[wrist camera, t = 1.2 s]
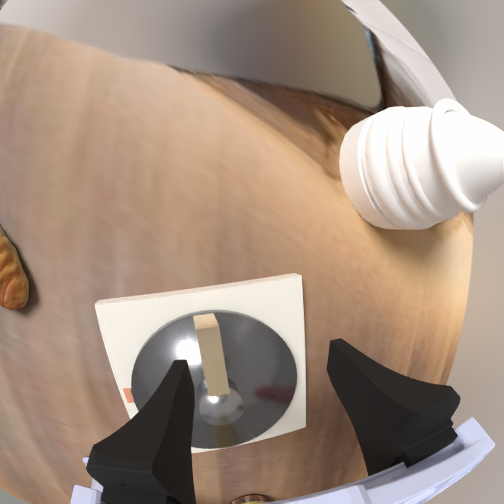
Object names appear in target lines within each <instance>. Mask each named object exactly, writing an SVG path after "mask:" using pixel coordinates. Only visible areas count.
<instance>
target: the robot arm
mask: <svg viewBox="0 0 504 504" xmlns="http://www.w3.org/2000/svg"><path fill="white" fill-rule="evenodd" d="M327 372H328V375H329V377H330V380H331V383H332V385H333V387H334V389H335V391H336V393H337V395H338V397H339V399H340V400H341V402H342V404H343V406H344V408H345V410H346V412H347V413H348V415H349V417H350V420H351V422H352V424H353V427H354V430H355V432H356V435H357V438H358V441H359V444H360V447H361V450H362V453H363V456H364V460H365V463H366V467H367V471H368V477H366V478H363V479H360V480H357V481H354V482H352V483H348V484H345V485H342V486H339V487H336V488H332V489H329V490H325V491H321V492H317V493H313V494H309V495H305V496H300V497H295V498H290V499H285V500H279V501H273V502H266V503H258V504H423V503H424V502H426V501H428V500H429V499H431V498H432V497H434V496H436V495H437V494H439V493H440V492H442V491H443V490H445V489H446V488H448V487H449V486H451V485H452V484H454V483H455V482H456V481H458V480H459V479H461V478H462V477H463V476H465V475H466V474H467V473H469V472H470V471H471V470H473V469H474V468H475V467H476V466H477V465H478V463H480V462H481V460H482V459H484V457H485V456H486V455H487V454H488V453H489V452H490V451H491V450H492V449H493V448H494V447H495V444H494V442H493V441H492V440H491V439H490V437H489V436H488V435H487V433H486V432H485V431H484V430H483V429H482V427H481V426H480V425H479V424H478V422H477V421H476V420H475V419H474V417H471V418H469V419H468V420H466V421H465V422H464V423H462V424H460V425H459V426H458V427H457V428H455V430H454V429H453V428H452V427H451V426H452V425H453V422H452V421H451V417H452V415H453V414H454V412H455V411H456V409H457V407H458V405H459V403H460V396H459V395H458V394H457V393H456V392H455V390H454V389H453V388H452V387H451V386H445V385H438V384H432V383H427V382H423V381H419V380H416V379H413V378H410V377H407V376H404V375H401V374H399V373H397V372H394V371H392V370H390V369H388V368H386V367H384V366H382V365H381V364H379V363H377V362H375V361H374V360H372V359H371V358H369V357H367V356H366V355H364V354H363V353H361V352H360V351H359V350H357V349H356V348H354V347H353V346H351V345H350V344H349V343H347V342H346V341H344V340H343V339H341V338H340V339H336V340H331V341H330V347H329V355H328V363H327ZM194 409H195V389H194V384H193V381H192V377H191V373H190V370H189V366H188V362H187V359H182V360H174V361H173V363H172V365H171V366H170V368H169V370H168V372H167V373H166V375H165V377H164V378H163V380H162V382H161V383H160V385H159V386H158V388H157V389H156V391H155V392H154V393H153V395H152V396H151V397H150V399H149V400H148V401H147V403H146V404H145V405H144V406H143V407H142V408H141V409H140V411H139V412H138V413H137V414H136V415H135V416H134V417H133V418H132V419H131V420H130V421H128V422H127V423H126V424H125V425H124V426H123V427H121V428H120V429H119V430H117V431H116V432H115V433H113V434H112V435H110V436H109V437H107V438H105V439H104V440H102V441H100V442H98V443H97V444H95V445H93V447H92V450H91V452H90V456H89V457H84V458H83V461H84V463H85V464H86V466H87V467H86V469H87V472H88V473H89V474H90V475H91V477H93V481H92V486H91V488H88V487H84V486H80V485H75V486H74V490H73V494H72V498H71V502H70V504H196V500H195V492H194V483H193V471H192V453H191V441H192V429H193V419H194Z"/></svg>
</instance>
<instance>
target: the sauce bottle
mask: <svg viewBox="0 0 504 504" xmlns="http://www.w3.org/2000/svg"><path fill="white" fill-rule="evenodd" d="M266 502H268V500H267V498H266V497H264V496H261V495H248V496H244V497H239V498H237V499H235V500H234V501H233V502H232V503H230V504H258V503H266Z"/></svg>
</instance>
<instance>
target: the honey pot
mask: <svg viewBox="0 0 504 504" xmlns="http://www.w3.org/2000/svg"><path fill="white" fill-rule="evenodd" d="M447 110H452V111H447ZM453 111H454V112H453ZM339 164H340V172H341V179H342V182H343V185H344V188H345V192H346V194H347V196H348V198H349V200H350V202H351V203H352V205H353V207H354V209H355V210H356V211H357V212H358V213H359V214H360V215H361V216H362V218H363V219H365V220H366V221H368V222H369V223H370V224H372V225H373V226H376V227H380V228H383V229H401V230H406V229H408V230H411V229H414V230H420V229H427V228H430V227H432V226H433V225H435V224H437V223H440V222H442V221H444V220H446V219H452V218H453V217H455V216H456V215H458V214H459V213H460V212H462V211H466V212H468V213H469V212H477V211H478V210H479V209H481V208H482V206H483V205H484V203H485V202H486V200H487V196H488V195H490V194H491V193H492V192H494V191H495V190H496V189H497V188H498V187H500V186H501V185H502V184H503V183H504V132H503V131H501V130H500V129H499V128H497V127H496V126H494V125H492V124H491V123H489V122H487V121H484V120H482V119H480V118H477V117H474V116H471V115H470V114H469V113H468V111H467V110H466V109H465V108H464V107H462V105H460V104H459V103H458V102H456V101H454V100H452V99H442V100H440V101H439V102H437V103H436V104H435V106H434V108H433V109H431V108H429V107H410V108H406V107H403V106H402V107H391V108H387V109H386V110H384V111H381V112H379V113H377V114H375V115H373V116H371V117H368V118H366V119H364V120H362V121H361V122H359V123H357V124H355V125H354V126H352V127H351V129H350V130H349V131H348V132H347V134H346V135H345V137H344V140H343V143H342V146H341V150H340V161H339Z"/></svg>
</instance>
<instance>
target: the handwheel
mask: <svg viewBox="0 0 504 504" xmlns="http://www.w3.org/2000/svg"><path fill="white" fill-rule="evenodd" d="M182 359H187V362H188V366H189V370H190V373H191V377H192V381H193V384H194V389H195V409H194V419H193V429H192V441H191V447H194V448H201V449H220V448H227V447H232V446H236V445H240V444H242V443H245V442H248V441H250V440H252V439H254V438H256V437H258V436H260V435H261V434H263V433H265V432H266V431H267V430H269V429H270V428H271V427H272V426H273V425H274V424H276V423H277V422H278V421H279V419H280V418H281V417H282V416H283V415H284V413H285V412H286V410H287V409H288V407H289V405H290V403H291V401H292V399H293V396H294V393H295V390H296V385H297V368H296V363H295V360H294V357H293V355H292V352H291V350H290V348H289V347H288V345H287V344H286V342H285V341H284V340H283V339H282V338H281V337H280V336H279V335H278V334H277V333H276V332H275V331H274V330H273V329H272V328H271V327H269V326H268V325H267V324H265V323H264V322H262V321H260V320H259V319H256V318H254V317H252V316H249V315H247V314H243V313H240V312H235V311H228V310H205V311H198V312H194V313H189V314H186V315H183V316H180V317H178V318H176V319H174V320H172V321H170V322H168V323H166V324H165V325H163V326H162V327H160V328H159V329H158V330H157V331H155V332H154V333H153V334H152V335H151V336H150V337H149V338H148V339H147V341H146V342H145V343H144V344H143V346H142V348H141V349H140V351H139V353H138V355H137V357H136V360H135V363H134V367H133V371H132V376H131V389H132V396H133V399H134V403H135V405H136V407H137V409H138V411H140V409H141V408H142V407H143V406H144V405H145V404H146V403H147V401H148V400H149V399H150V397H151V396H152V395H153V393H154V392H155V391H156V389H157V388H158V386H159V385H160V383H161V382H162V380H163V378H164V377H165V375H166V373H167V372H168V370H169V368H170V366H171V365H172V363H173V361H174V360H182Z"/></svg>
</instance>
